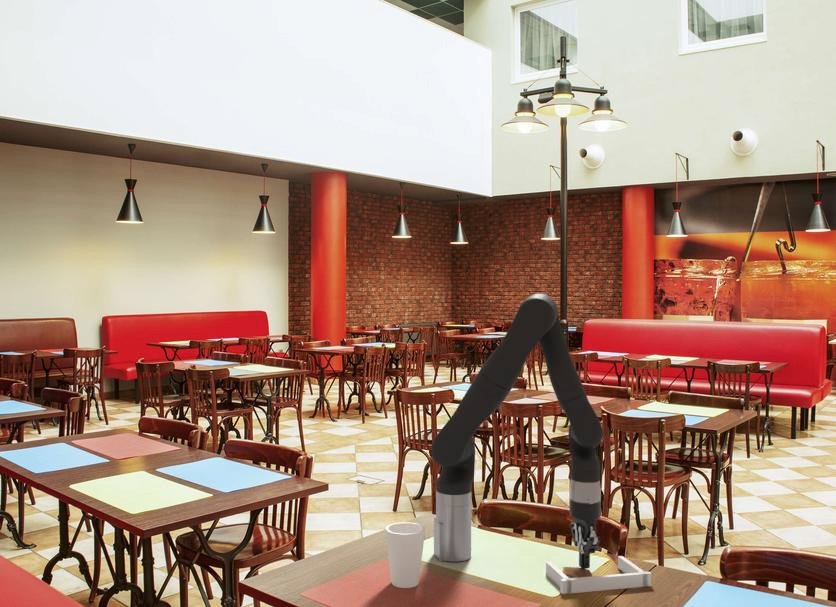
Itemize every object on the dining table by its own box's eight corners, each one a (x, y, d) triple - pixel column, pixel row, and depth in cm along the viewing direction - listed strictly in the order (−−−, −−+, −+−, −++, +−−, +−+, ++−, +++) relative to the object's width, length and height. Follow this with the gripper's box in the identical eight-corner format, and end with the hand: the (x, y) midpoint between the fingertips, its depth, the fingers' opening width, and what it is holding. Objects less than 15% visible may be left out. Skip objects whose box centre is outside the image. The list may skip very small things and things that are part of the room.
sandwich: (596, 592, 173) (596, 584, 173) (562, 590, 173) (562, 583, 173) (590, 574, 183) (590, 567, 183) (558, 573, 184) (558, 566, 184)
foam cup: (430, 578, 179) (430, 524, 179) (417, 592, 170) (417, 536, 170) (393, 573, 182) (393, 520, 182) (379, 587, 173) (379, 531, 173)
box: (562, 594, 170) (562, 581, 170) (542, 574, 181) (542, 562, 181) (651, 586, 174) (651, 573, 174) (625, 567, 186) (625, 555, 186)
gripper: (560, 491, 189) (559, 559, 189) (582, 505, 176) (581, 578, 176) (587, 490, 191) (586, 557, 191) (611, 504, 178) (610, 576, 178)
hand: (584, 567), depth 183 cm, fingers closed
